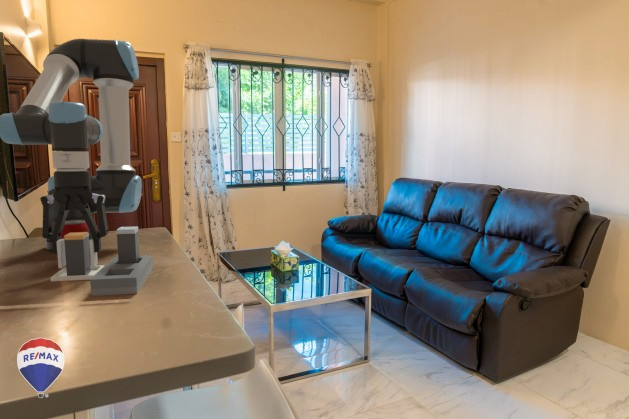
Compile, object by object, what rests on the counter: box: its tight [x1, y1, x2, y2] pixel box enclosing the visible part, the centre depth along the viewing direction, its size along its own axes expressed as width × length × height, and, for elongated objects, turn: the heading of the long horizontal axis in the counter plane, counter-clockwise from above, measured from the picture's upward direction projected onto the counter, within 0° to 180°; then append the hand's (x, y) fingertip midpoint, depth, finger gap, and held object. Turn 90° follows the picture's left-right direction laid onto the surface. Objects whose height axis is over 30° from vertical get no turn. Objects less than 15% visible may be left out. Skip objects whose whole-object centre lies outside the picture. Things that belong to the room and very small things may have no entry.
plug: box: [64, 232, 91, 276], centre depth 105 cm, size 4×4×10 cm
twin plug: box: [116, 226, 141, 264], centre depth 106 cm, size 4×4×10 cm
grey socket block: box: [89, 254, 154, 297], centre depth 101 cm, size 20×9×4 cm, turn 11°
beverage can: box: [60, 220, 91, 268], centre depth 115 cm, size 7×7×12 cm
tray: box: [50, 264, 106, 282], centre depth 106 cm, size 9×9×2 cm
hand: (78, 265), depth 106 cm, fingers open, 6 cm apart
